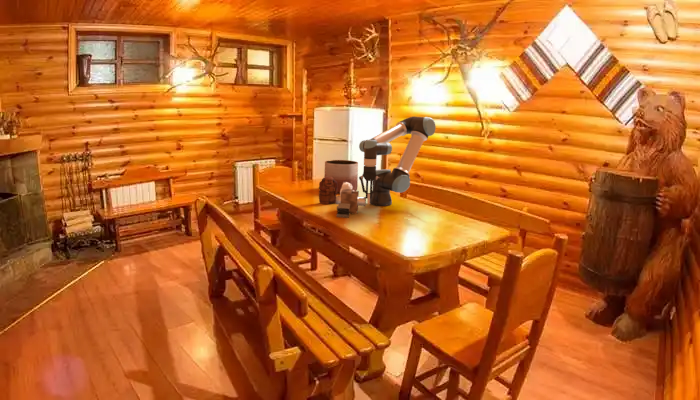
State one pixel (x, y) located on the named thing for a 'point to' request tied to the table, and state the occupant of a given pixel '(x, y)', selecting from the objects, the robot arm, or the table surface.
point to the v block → (343, 210)
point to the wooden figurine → (327, 190)
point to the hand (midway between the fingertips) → (368, 203)
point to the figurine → (346, 186)
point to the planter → (342, 172)
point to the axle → (360, 200)
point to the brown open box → (350, 199)
